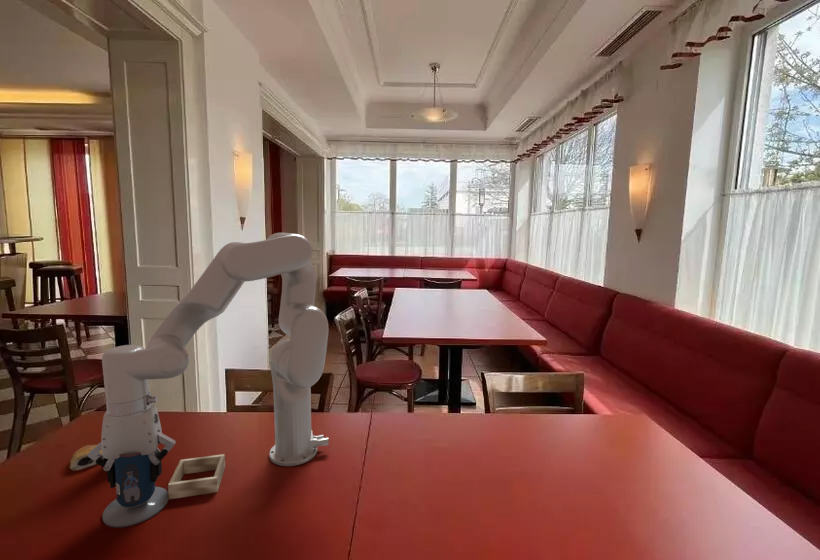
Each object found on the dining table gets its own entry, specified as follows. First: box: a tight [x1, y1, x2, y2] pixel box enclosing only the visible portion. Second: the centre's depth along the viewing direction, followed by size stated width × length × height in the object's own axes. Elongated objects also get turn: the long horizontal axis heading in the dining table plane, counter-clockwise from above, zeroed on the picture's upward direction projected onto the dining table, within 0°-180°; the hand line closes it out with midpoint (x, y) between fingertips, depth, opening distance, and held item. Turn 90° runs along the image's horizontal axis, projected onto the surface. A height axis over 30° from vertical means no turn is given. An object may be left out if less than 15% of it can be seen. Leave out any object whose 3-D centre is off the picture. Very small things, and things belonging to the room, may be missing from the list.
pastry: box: [69, 444, 103, 472], centre depth 104 cm, size 9×7×4 cm
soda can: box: [115, 453, 156, 508], centre depth 86 cm, size 7×7×12 cm
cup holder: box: [167, 453, 226, 500], centre depth 95 cm, size 10×10×4 cm
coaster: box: [101, 486, 170, 529], centre depth 87 cm, size 12×12×1 cm
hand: (135, 480), depth 86 cm, fingers closed on soda can, 7 cm apart
